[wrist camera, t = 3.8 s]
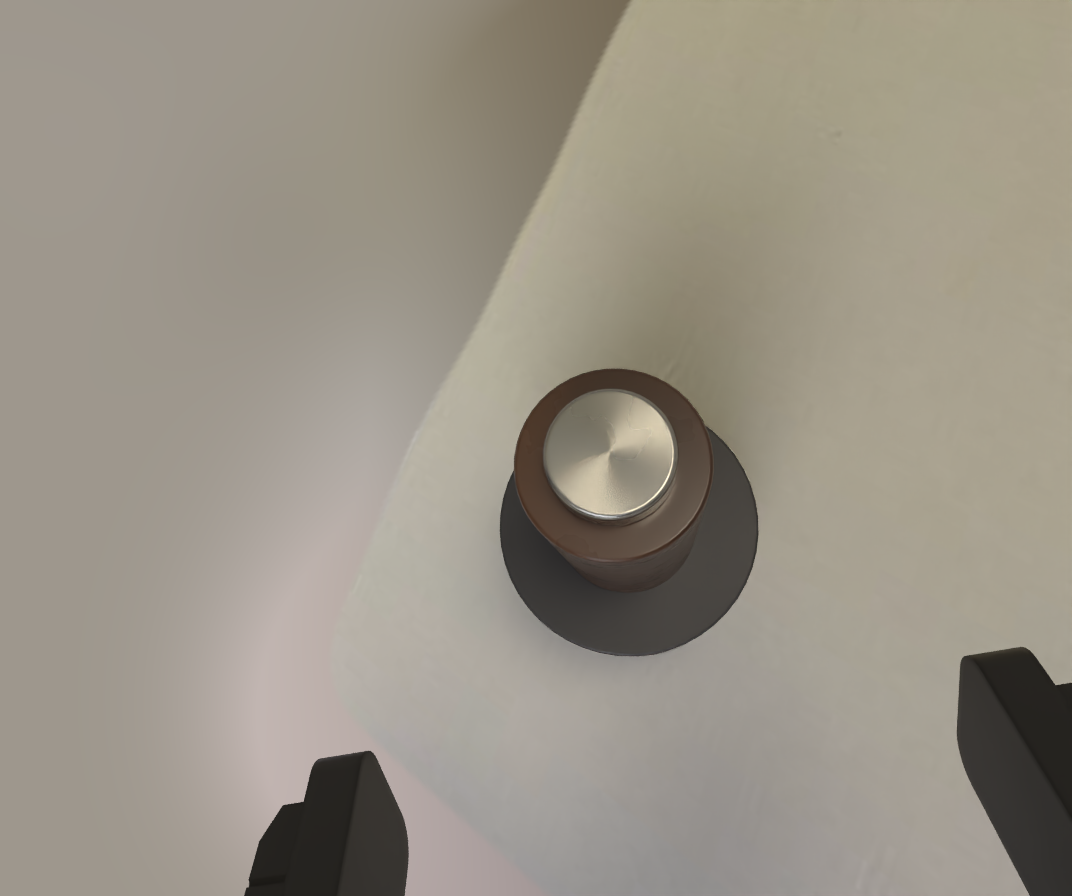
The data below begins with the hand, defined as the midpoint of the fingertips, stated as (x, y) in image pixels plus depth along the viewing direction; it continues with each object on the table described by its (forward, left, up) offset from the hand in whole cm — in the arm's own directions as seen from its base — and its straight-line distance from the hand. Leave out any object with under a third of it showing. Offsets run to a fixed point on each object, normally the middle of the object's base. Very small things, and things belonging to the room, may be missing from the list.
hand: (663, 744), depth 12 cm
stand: (+2, +4, -16) cm, 17 cm away
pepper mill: (+2, +4, -9) cm, 10 cm away
